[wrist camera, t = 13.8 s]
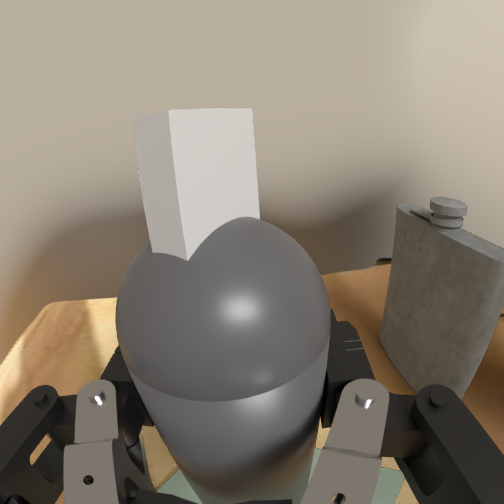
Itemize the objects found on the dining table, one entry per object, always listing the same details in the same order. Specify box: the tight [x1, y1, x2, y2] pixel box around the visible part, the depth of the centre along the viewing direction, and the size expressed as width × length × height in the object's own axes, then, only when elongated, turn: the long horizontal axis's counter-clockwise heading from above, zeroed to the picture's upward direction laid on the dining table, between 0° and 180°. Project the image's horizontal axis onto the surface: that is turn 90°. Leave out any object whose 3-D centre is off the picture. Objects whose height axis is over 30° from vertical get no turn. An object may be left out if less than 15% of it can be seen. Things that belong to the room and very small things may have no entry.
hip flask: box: [379, 197, 504, 400], centre depth 26 cm, size 16×4×20 cm, turn 10°
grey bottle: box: [115, 108, 330, 504], centre depth 9 cm, size 5×5×16 cm
